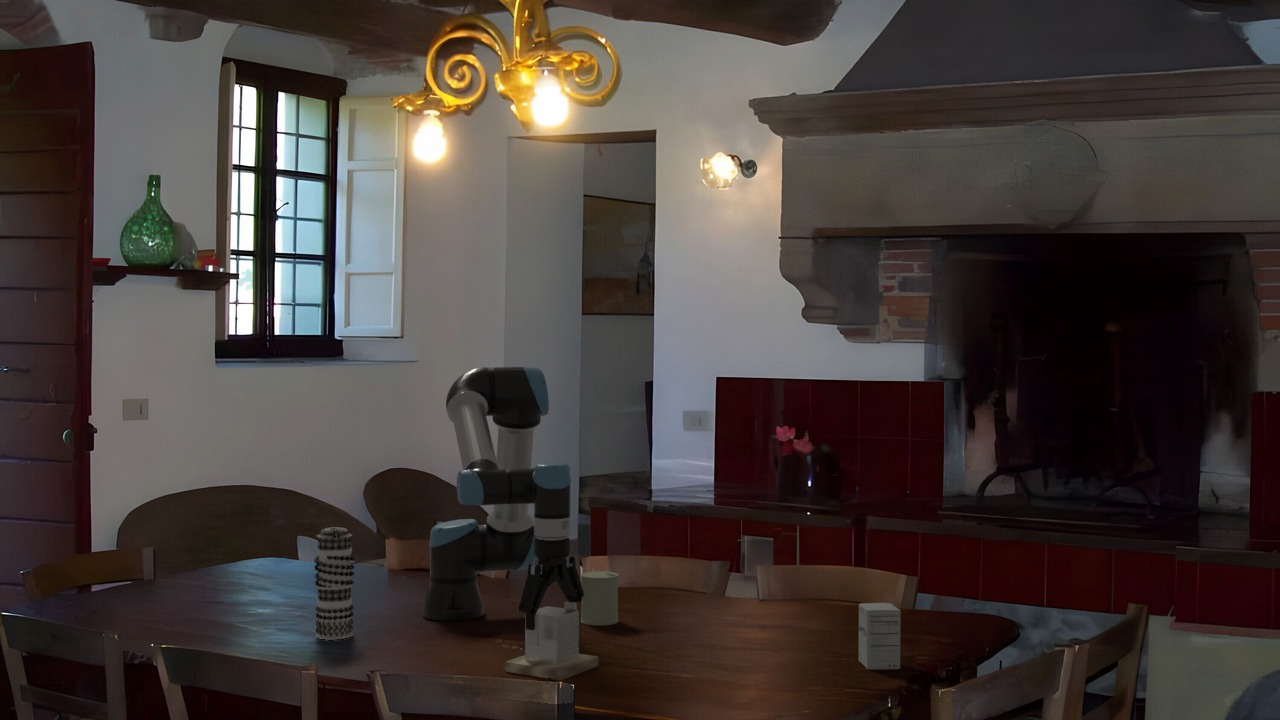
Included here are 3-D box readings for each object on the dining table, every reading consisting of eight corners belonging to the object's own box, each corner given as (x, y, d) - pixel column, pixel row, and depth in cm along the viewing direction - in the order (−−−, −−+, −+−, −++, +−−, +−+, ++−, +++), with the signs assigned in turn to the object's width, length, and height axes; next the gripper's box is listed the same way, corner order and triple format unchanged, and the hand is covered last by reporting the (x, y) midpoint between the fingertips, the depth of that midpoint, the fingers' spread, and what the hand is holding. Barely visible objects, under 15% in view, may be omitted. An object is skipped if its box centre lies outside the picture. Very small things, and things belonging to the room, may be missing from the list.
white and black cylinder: (362, 633, 312) (362, 526, 312) (341, 642, 303) (341, 532, 303) (328, 630, 315) (328, 524, 315) (306, 639, 306) (306, 530, 306)
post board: (504, 671, 277) (504, 628, 277) (544, 657, 289) (544, 616, 289) (560, 680, 270) (560, 636, 270) (598, 666, 282) (598, 623, 282)
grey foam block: (525, 660, 278) (525, 612, 278) (547, 652, 285) (547, 606, 285) (556, 665, 274) (556, 617, 274) (578, 657, 281) (578, 610, 281)
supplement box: (857, 661, 286) (857, 602, 286) (891, 660, 287) (891, 602, 287) (866, 670, 279) (866, 609, 279) (901, 669, 279) (901, 609, 279)
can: (613, 626, 320) (614, 576, 320) (576, 624, 322) (576, 575, 322) (622, 618, 329) (622, 570, 329) (585, 616, 331) (585, 568, 331)
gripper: (531, 546, 266) (531, 652, 267) (600, 531, 288) (599, 629, 288) (501, 543, 270) (501, 648, 271) (571, 528, 292) (571, 625, 292)
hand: (552, 638), depth 279 cm, fingers open, 13 cm apart
